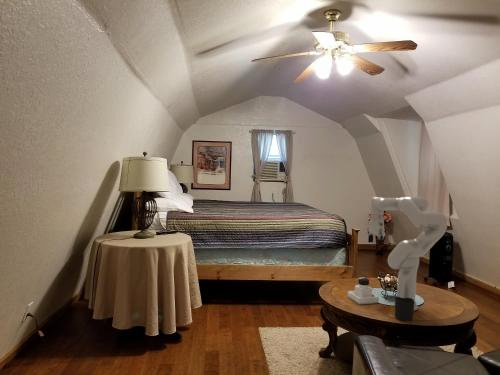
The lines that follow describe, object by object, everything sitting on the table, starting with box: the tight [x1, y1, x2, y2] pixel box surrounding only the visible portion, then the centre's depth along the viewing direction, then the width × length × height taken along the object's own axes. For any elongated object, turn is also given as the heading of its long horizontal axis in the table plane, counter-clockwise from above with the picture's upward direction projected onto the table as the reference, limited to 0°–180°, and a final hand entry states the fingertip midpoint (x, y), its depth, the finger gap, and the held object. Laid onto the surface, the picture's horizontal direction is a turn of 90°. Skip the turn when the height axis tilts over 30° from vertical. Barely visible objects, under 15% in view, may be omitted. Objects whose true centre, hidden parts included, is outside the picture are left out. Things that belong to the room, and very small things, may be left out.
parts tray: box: [347, 290, 379, 305], centre depth 226 cm, size 13×13×4 cm
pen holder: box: [394, 296, 415, 322], centre depth 200 cm, size 9×9×10 cm
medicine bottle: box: [354, 277, 373, 298], centre depth 226 cm, size 7×7×12 cm
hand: (375, 243), depth 241 cm, fingers open, 9 cm apart
